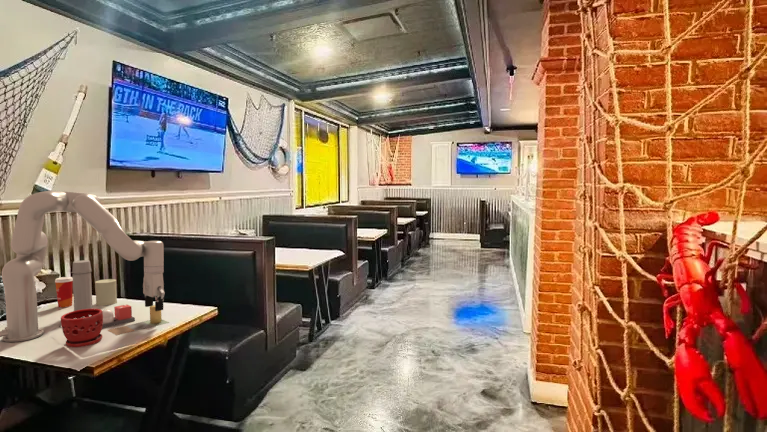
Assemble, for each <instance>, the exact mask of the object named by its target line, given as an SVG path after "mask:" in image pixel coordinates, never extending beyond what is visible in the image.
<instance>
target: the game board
mask: <svg viewBox="0 0 767 432" xmlns="http://www.w3.org/2000/svg"><path fill="white" fill-rule="evenodd" d="M169 323H170V322H169V321H167V320H165V319H162V322H160V323H157V324H151V323H150V319H149V320H145V321H141V322H135V323H132V324H131V323H130V324H128V325H123V326H119V327H115V328H110V329H107V331H108V332H110V333H112V334H113V335H115V336H120V335H123V334H128V333H132V332H136V331H140V330H144V329H149V328H153V327H157V326H162V325H165V324H169Z"/></svg>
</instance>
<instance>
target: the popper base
mask: <svg viewBox="0 0 767 432" xmlns="http://www.w3.org/2000/svg"><path fill="white" fill-rule="evenodd" d="M132 311H133V309H132V305H129V304H121V305H117V306H114V322H111V323H106V324H103V326H102V329H105V328H110V327H113V326H119V325H122V324H126V323H131V322H135V321H136V317H135V316H133V315H132V314H133V313H132ZM96 324H97V322H96Z"/></svg>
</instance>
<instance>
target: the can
mask: <svg viewBox="0 0 767 432" xmlns="http://www.w3.org/2000/svg"><path fill="white" fill-rule="evenodd" d="M94 283H95V285H94V287H95V305H96V306H101V307H102V306H103V307H104V306H105V307H106V306H111V305H114V304H117V303H118V298H117V297H118V295H117V279H115V278H108V279H107V278H106V279H99V280H96V281H94Z"/></svg>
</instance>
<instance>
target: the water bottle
mask: <svg viewBox="0 0 767 432" xmlns="http://www.w3.org/2000/svg"><path fill="white" fill-rule="evenodd" d="M70 273H71V274H72V278H73V311H77V310H82V309H93V294H92V292H93V291H92V290H93V289H92V288H93V287H92V286H93V285H92V266H91V260H88V259H85V260H83V259H82V260H75V261H73V262H72V271H71V272H70Z"/></svg>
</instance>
